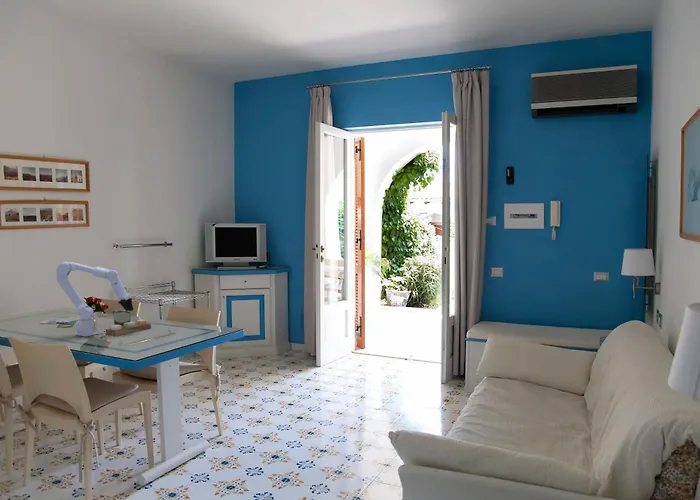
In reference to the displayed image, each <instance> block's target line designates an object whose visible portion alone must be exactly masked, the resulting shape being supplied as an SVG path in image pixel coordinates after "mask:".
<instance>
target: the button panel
mask: <svg viewBox="0 0 700 500" xmlns="http://www.w3.org/2000/svg"><path fill="white" fill-rule="evenodd" d="M133 323H134V326H133V327H124V326H121V329H118V330H111V327H110V328H106V329H105V335H106V336H113V337H118V336H123V335H127V334H128V335H129V334H133V333H136V332H141V331H145V330H149V329H152V323H150V322H149V323H148V322H146V324H142V325H138V324H136V322H133Z"/></svg>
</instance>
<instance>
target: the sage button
mask: <svg viewBox="0 0 700 500" xmlns="http://www.w3.org/2000/svg"><path fill="white" fill-rule="evenodd" d="M134 323H135V322H131V321H130V322H127V323H124V327H133V326H134Z"/></svg>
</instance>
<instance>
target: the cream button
mask: <svg viewBox="0 0 700 500" xmlns="http://www.w3.org/2000/svg"><path fill="white" fill-rule="evenodd" d="M110 328H111V330H118V329H121V325H110Z"/></svg>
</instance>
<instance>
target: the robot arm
mask: <svg viewBox="0 0 700 500" xmlns="http://www.w3.org/2000/svg"><path fill="white" fill-rule="evenodd" d="M55 270H56V282H57V284H58V285H59V286H60V287H61V289H62V290H63V291H64V293H65V294H66V295H67V297H68V298H69V300H70V301H71V302H72V303H73V305H74V307H76V310H77V313H78V315H79V319H78V320H77V322H76V333H75V336H81V337H89V336H95V335H98V334H99V332H95V319H94V317H93V315H94V309H93V308H92V307H91V306H89V305H88V304H87V303H86V302H85V301H84V300H83V299H82V297H81V296H80V294H79V293H78V291H77V290H76V289H75V288H74V286H73V285H72V284H71V282H70V281H69V279H68V278H69V275H70V273H71V272H73V271H81V272H86V273H89V274H92V275H93V277H97V278H100V279H105V280H106V279H107V280H108V281H109V283H110V284H111V287H112V289H113V291H114V294H115V295H116V297H117V300H118V302H117V303H118V304H119V305H120V306H121V307H122V309H125V310H126V311H134V306H133V298H132V297H129V296H130V295H131V293H128V292H127V290H126V288H125V286H124V284H123V282H122V280H121V278H120V277H119V273H118V271H117V270H115V269H111V268H104V267H103V266H101V265H98V266H95V267H93V266H89V265H85V264H82V263H78V262H74V261H67V260H66V261H62V262H60V263H58V265H57V268H56V269H55Z"/></svg>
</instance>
